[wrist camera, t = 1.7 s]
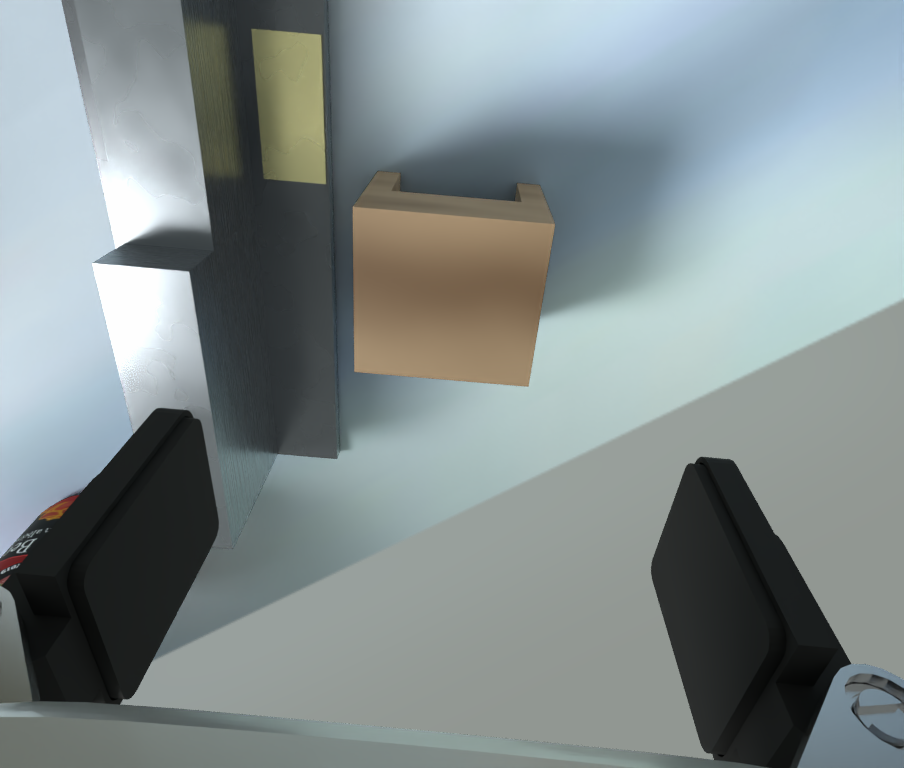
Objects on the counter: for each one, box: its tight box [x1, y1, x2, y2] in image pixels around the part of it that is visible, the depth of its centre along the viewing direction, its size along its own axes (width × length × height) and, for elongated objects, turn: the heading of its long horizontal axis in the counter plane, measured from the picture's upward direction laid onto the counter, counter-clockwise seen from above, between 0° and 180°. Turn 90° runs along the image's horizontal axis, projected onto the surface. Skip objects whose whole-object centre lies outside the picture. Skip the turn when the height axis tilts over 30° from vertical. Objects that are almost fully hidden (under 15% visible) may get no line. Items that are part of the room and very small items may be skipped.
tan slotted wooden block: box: [353, 171, 555, 387], centre depth 23 cm, size 6×6×6 cm
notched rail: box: [62, 0, 340, 549], centre depth 22 cm, size 24×9×7 cm, turn 176°
